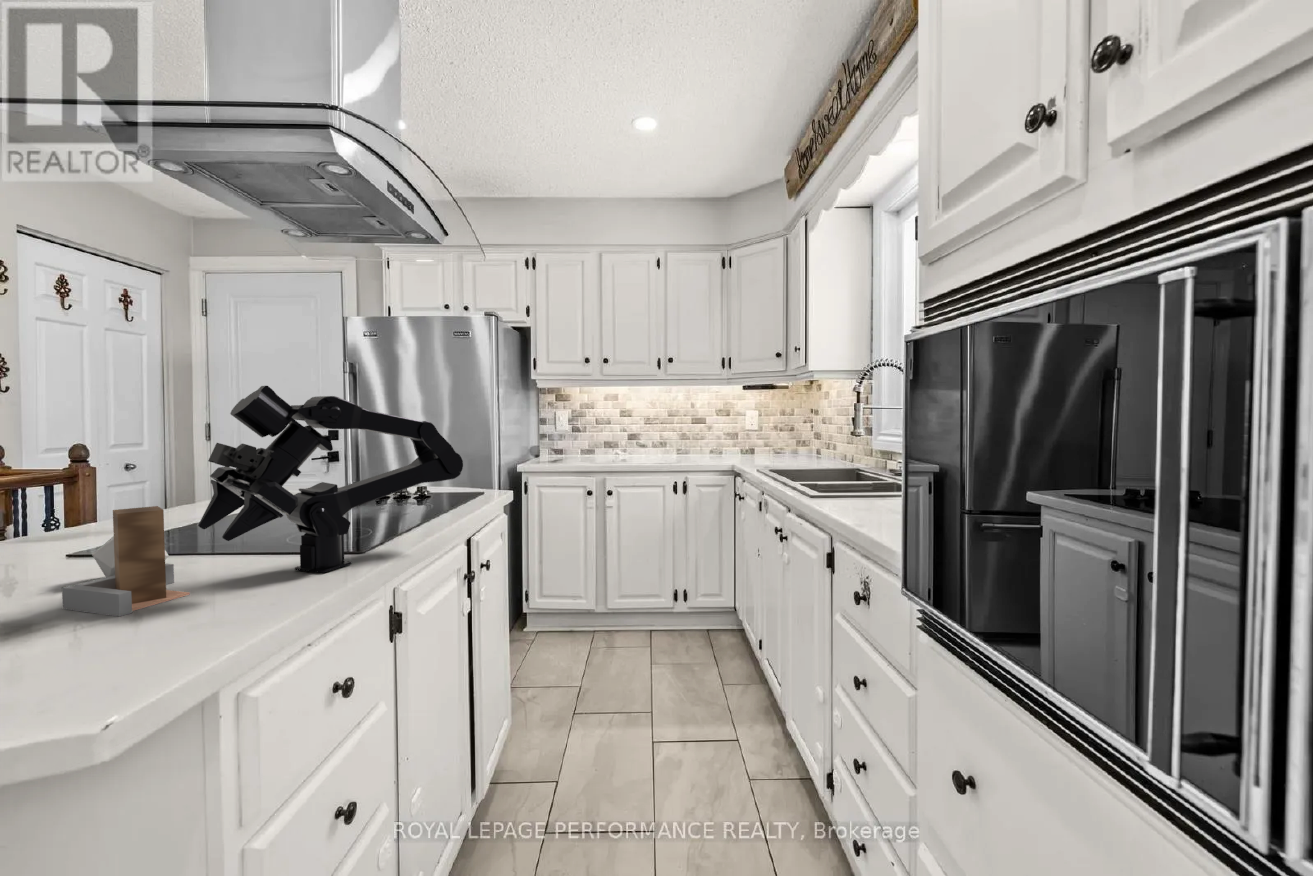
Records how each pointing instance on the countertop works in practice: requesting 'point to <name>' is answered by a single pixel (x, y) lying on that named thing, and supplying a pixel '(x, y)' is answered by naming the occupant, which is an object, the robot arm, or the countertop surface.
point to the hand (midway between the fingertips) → (212, 533)
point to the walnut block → (140, 552)
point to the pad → (169, 596)
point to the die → (108, 558)
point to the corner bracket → (103, 596)
